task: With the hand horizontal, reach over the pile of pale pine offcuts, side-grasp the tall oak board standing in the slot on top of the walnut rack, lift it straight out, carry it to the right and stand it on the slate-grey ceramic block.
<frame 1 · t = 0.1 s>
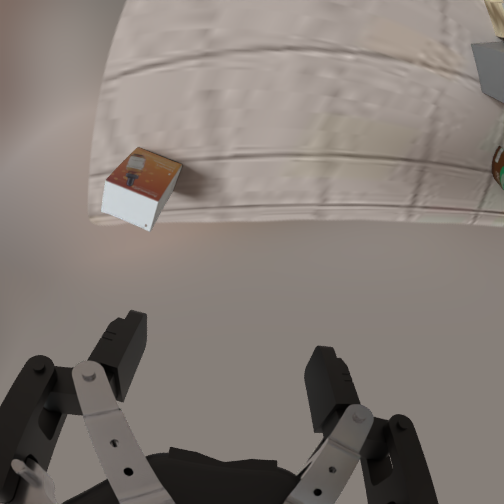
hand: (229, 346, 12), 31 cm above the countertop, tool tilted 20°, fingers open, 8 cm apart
pine offcut A: (494, 15, 15), on the countertop, touching pine offcut B
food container: (499, 171, 34), on the countertop
slate block: (497, 65, 21), on the countertop
pine offcut B: (502, 19, 14), point 1 cm above the countertop, touching pine offcut A
small box: (155, 168, 41), on the countertop
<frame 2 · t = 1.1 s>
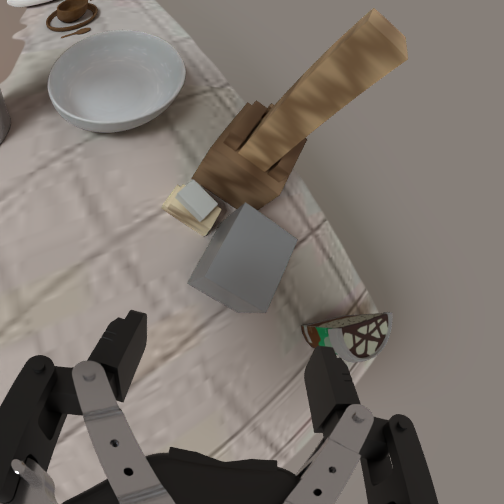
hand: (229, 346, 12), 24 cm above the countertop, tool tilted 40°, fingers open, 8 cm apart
pine offcut A: (188, 213, 38), on the countertop
grey painted offcut C: (194, 202, 34), point 4 cm above the countertop, touching pine offcut B
walnut rack: (235, 173, 42), on the countertop
place setting: (88, 16, 35), on the countertop
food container: (324, 338, 44), on the countertop
slate block: (229, 266, 39), on the countertop
pine offcut B: (192, 211, 36), point 1 cm above the countertop, touching grey painted offcut C
oak board: (262, 144, 34), point 9 cm above the countertop, touching walnut rack
serving bowl: (113, 97, 35), on the countertop
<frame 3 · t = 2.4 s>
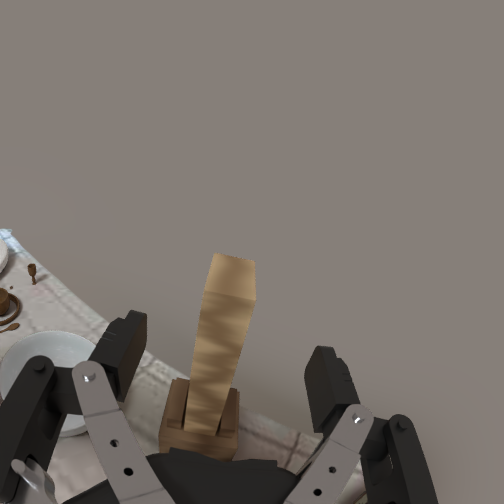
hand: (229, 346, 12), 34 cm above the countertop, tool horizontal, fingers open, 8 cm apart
walnut rack: (196, 439, 36), on the countertop
place setting: (13, 308, 47), on the countertop
oak board: (202, 412, 33), point 9 cm above the countertop, touching walnut rack
serving bowl: (62, 398, 34), on the countertop
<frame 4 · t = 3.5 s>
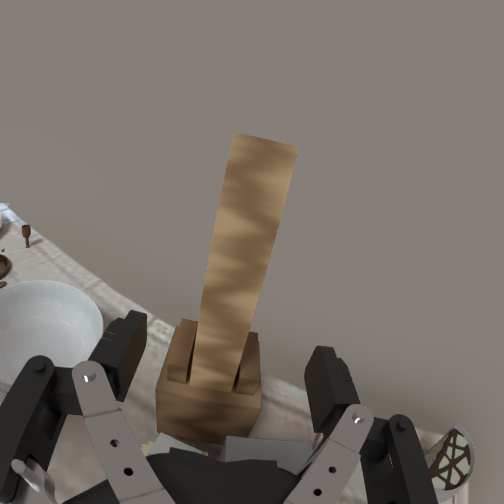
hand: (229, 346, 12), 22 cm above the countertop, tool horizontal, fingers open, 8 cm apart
grey painted offcut C: (174, 457, 21), point 3 cm above the countertop, touching pine offcut B
walnut rack: (204, 409, 31), on the countertop
place setting: (2, 269, 42), on the countertop
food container: (406, 499, 20), on the countertop
oak board: (213, 364, 27), point 9 cm above the countertop, touching walnut rack
serving bowl: (42, 359, 29), on the countertop
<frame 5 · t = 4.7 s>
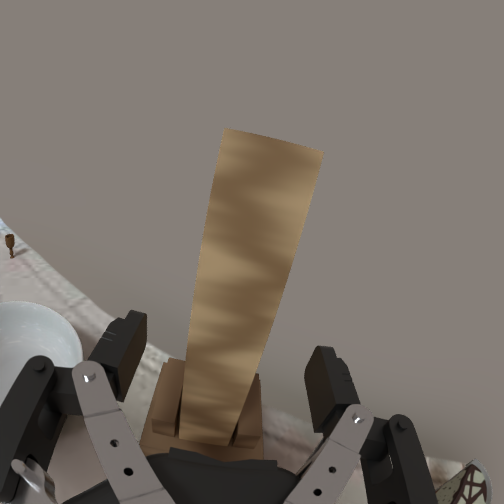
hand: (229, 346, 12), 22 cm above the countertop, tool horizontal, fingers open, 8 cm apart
walnut rack: (198, 449, 25), on the countertop
oak board: (206, 411, 22), point 9 cm above the countertop, touching walnut rack
serving bowl: (22, 389, 23), on the countertop
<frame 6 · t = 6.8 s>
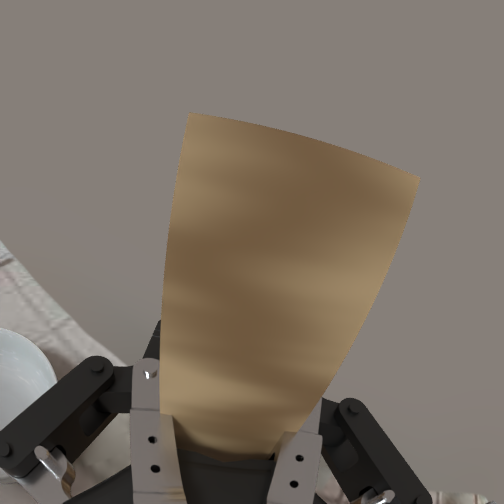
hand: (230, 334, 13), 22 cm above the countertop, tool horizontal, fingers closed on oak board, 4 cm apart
oak board: (200, 475, 16), point 9 cm above the countertop, touching gripper, walnut rack
serving bowl: (2, 424, 17), on the countertop
when the fingers open (22 cm above the countertop, at t = 12.7 s): oak board drops 1 cm, resting on slate block.
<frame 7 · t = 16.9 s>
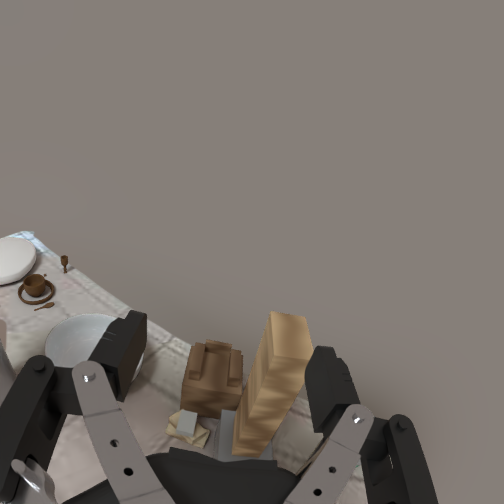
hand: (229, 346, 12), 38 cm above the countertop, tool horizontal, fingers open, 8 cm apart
pine offcut A: (187, 435, 41), on the countertop, touching pine offcut B
grey painted offcut C: (186, 425, 39), point 3 cm above the countertop, touching pine offcut B
walnut rack: (208, 397, 50), on the countertop
place setting: (48, 291, 64), on the countertop
slate block: (236, 456, 39), on the countertop
pine offcut B: (187, 429, 40), point 1 cm above the countertop, touching grey painted offcut C, pine offcut A
oak board: (245, 437, 35), point 8 cm above the countertop, touching slate block
plate: (4, 267, 65), on the countertop
serving bowl: (97, 369, 48), on the countertop
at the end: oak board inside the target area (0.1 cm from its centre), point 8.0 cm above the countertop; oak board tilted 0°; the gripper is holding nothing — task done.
